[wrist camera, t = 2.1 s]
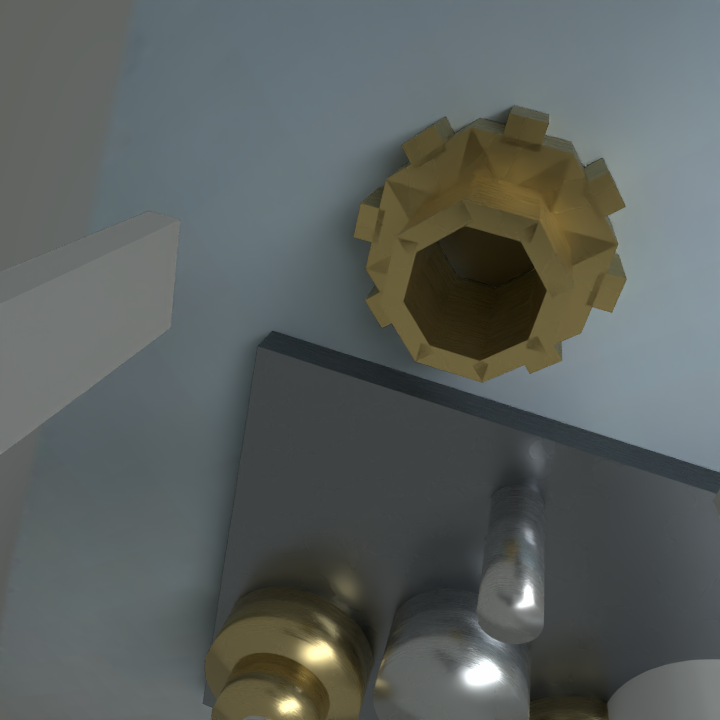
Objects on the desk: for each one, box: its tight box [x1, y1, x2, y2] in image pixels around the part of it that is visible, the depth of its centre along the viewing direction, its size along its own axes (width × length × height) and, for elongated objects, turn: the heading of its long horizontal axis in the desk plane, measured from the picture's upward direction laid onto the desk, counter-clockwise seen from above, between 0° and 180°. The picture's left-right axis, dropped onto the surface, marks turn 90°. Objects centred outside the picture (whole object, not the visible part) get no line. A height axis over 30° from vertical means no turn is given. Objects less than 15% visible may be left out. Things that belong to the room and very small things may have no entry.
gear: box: [354, 105, 627, 382], centre depth 20 cm, size 8×8×6 cm
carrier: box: [203, 331, 720, 720], centre depth 27 cm, size 22×22×7 cm
